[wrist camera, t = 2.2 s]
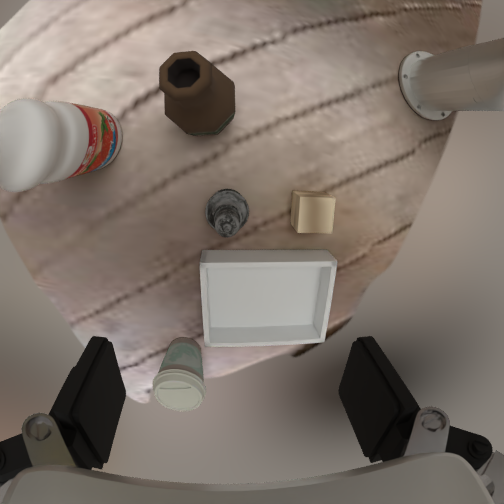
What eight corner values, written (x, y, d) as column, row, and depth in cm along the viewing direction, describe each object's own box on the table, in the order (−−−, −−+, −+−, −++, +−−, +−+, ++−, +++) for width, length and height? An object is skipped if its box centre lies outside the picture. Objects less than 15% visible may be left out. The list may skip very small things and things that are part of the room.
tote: (327, 249, 47) (337, 261, 42) (316, 325, 52) (324, 342, 47) (202, 250, 45) (199, 262, 41) (206, 329, 50) (204, 346, 46)
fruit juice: (89, 99, 35) (-47, 76, 9) (135, 126, 38) (10, 116, 12) (61, 152, 38) (-77, 183, 12) (104, 181, 40) (-26, 241, 14)
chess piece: (254, 197, 43) (264, 217, 32) (236, 232, 45) (239, 263, 34) (217, 180, 42) (214, 193, 31) (200, 215, 43) (191, 242, 32)
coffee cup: (215, 341, 52) (214, 389, 40) (198, 371, 54) (194, 418, 43) (170, 323, 50) (159, 370, 38) (156, 356, 52) (145, 402, 41)
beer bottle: (191, 78, 36) (153, 11, 14) (243, 95, 38) (263, 40, 15) (171, 128, 39) (108, 113, 16) (223, 144, 40) (218, 146, 18)
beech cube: (324, 191, 44) (335, 198, 39) (321, 223, 46) (332, 233, 41) (292, 190, 43) (300, 196, 39) (290, 223, 45) (297, 232, 40)
